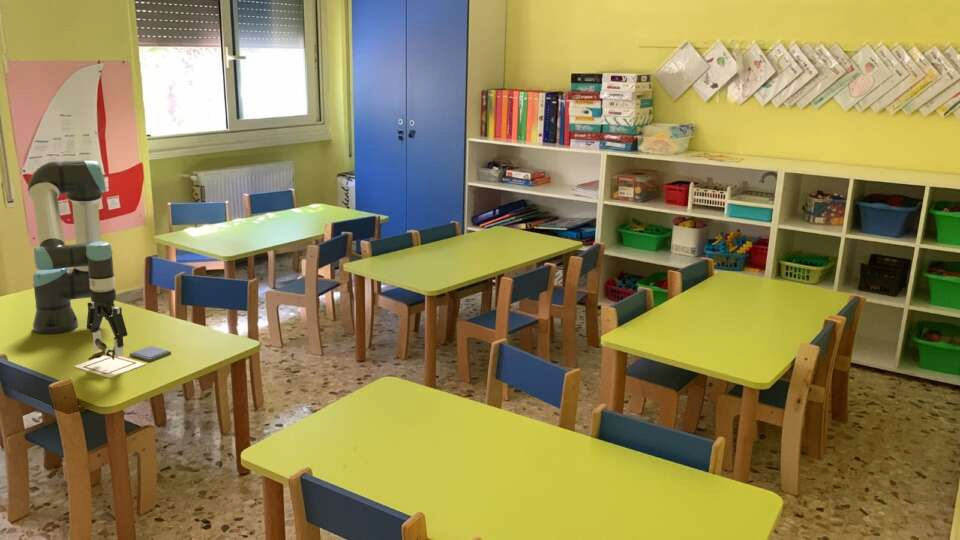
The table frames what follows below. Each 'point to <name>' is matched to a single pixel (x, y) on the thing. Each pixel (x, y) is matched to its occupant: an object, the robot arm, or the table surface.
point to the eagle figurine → (104, 350)
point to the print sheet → (109, 366)
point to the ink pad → (150, 353)
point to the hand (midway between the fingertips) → (108, 352)
